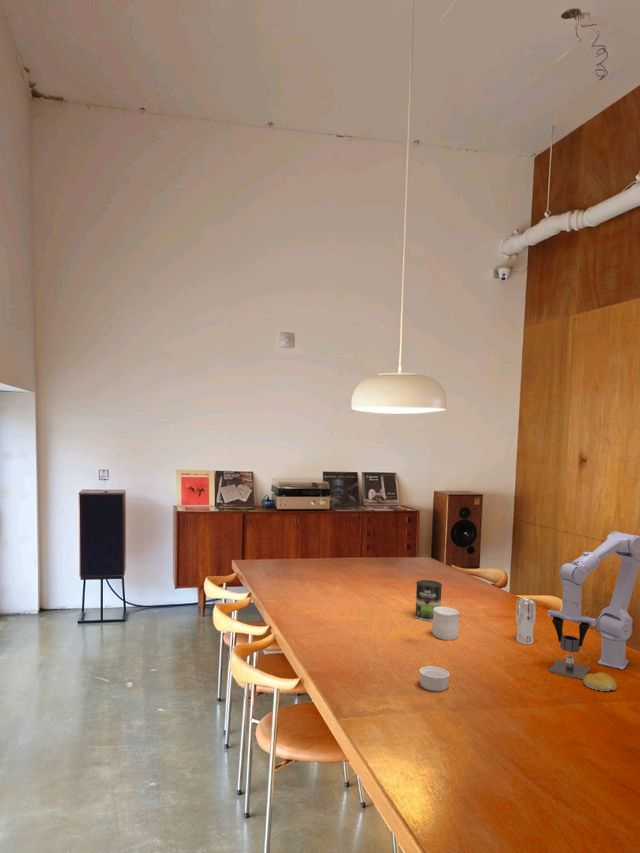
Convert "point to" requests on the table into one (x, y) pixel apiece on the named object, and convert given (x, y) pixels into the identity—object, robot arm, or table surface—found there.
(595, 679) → the bread roll
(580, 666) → the square steel plate
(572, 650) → the ring
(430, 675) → the ramekin
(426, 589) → the coffee can
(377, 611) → the table surface
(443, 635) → the cup
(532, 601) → the beer glass
